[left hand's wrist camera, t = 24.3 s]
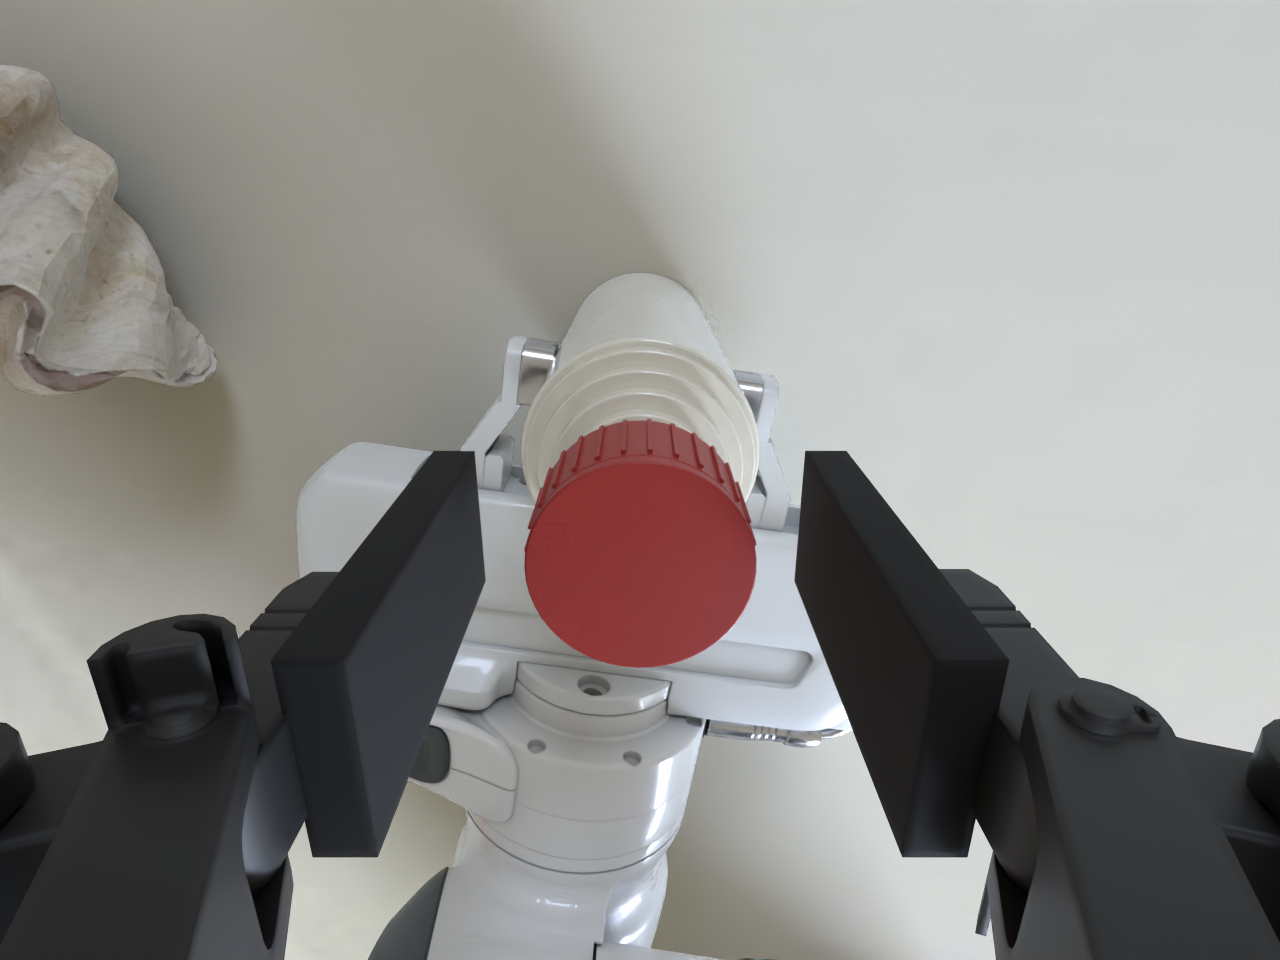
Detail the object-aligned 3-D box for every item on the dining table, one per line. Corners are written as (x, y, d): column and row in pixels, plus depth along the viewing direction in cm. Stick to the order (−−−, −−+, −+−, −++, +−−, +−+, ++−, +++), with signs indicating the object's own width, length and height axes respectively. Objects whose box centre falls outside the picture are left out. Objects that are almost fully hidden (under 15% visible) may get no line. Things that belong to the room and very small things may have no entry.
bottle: (737, 356, 30) (863, 577, 13) (628, 436, 31) (614, 734, 14) (653, 242, 28) (672, 324, 11) (542, 331, 30) (411, 525, 13)
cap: (688, 629, 15) (696, 701, 13) (509, 560, 15) (487, 623, 13) (778, 466, 14) (802, 515, 12) (584, 383, 13) (575, 419, 11)
